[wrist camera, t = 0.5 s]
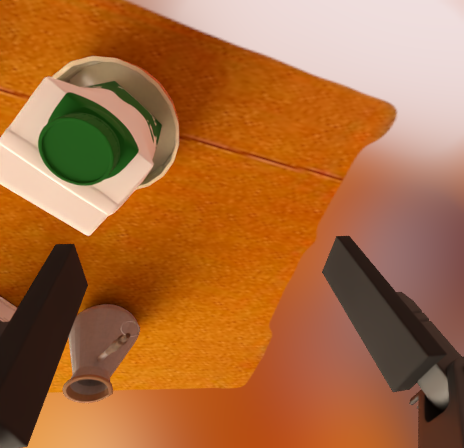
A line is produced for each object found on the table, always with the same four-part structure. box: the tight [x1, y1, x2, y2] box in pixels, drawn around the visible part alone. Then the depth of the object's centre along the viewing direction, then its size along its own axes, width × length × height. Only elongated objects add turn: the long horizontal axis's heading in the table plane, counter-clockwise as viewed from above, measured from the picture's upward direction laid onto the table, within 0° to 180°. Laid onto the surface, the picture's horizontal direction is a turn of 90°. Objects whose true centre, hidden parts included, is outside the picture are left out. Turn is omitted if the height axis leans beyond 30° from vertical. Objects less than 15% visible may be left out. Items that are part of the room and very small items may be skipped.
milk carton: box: [0, 76, 162, 236], centre depth 24 cm, size 9×9×20 cm
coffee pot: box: [63, 304, 140, 403], centre depth 40 cm, size 21×12×15 cm, turn 146°
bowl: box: [52, 56, 179, 190], centre depth 31 cm, size 14×14×4 cm
